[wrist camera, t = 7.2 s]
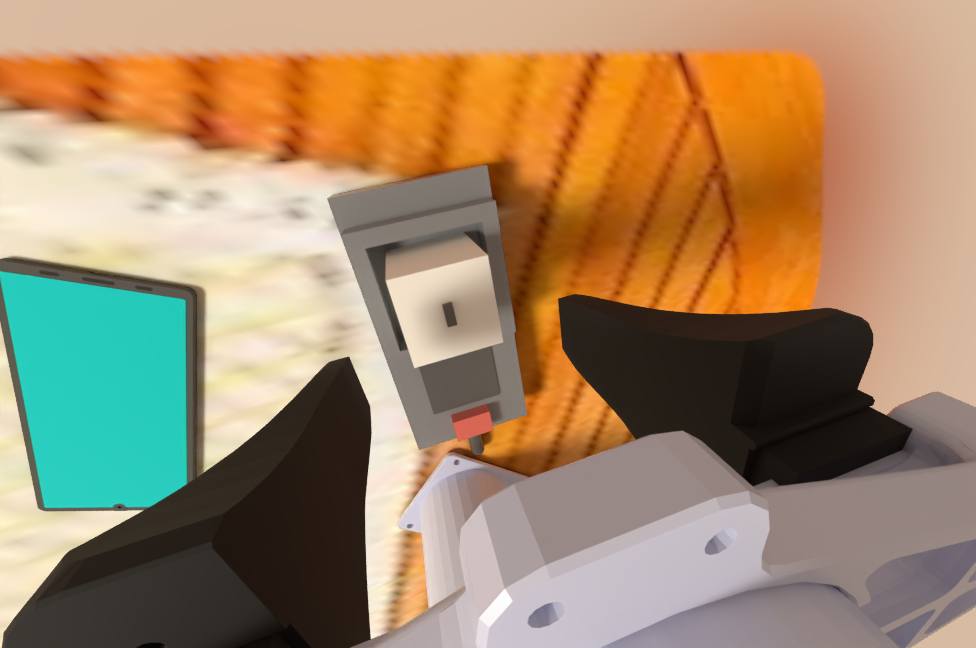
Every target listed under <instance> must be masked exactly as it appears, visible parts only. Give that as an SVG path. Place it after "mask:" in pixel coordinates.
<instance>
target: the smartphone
mask: <svg viewBox="0 0 976 648" xmlns="http://www.w3.org/2000/svg"><path fill="white" fill-rule="evenodd" d="M0 322H1V327H2V332H3V337H4V342H5V347H6V352H7V357H8V362H9V367H10V372H11V377H12V382H13V387H14V392H15V396H16V401H17V406H18V411H19V416H20V421H21V426H22V431H23V436H24V441H25V446H26V451H27V456H28V461H29V466H30V471H31V476H32V481H33V486H34V491H35V495H36V500H37V505H38V508H39V509H40V510H43V511H111V510H114V511H126V510H146V509H147V508H149V507H151V506H152V505H154V504H156V503H157V502H159V501H161V500H162V499H164V498H166V497H167V496H169V495H170V494H172V493H174V492H175V491H177V490H178V489H180V488H182V487H183V486H185V485H186V484H188V483H189V482H191V481H192V480H194V479H196V387H197V294H196V292H195V291H194V290H193V289H191V288H188V287H182V286H176V285H170V284H164V283H158V282H151V281H145V280H139V279H133V278H127V277H121V276H108V275H102V274H96V273H93V272H90V271H84V270H77V269H71V268H65V267H59V266H53V265H47V264H40V263H34V262H28V261H22V260H16V259H10V258H3V259H0Z"/></svg>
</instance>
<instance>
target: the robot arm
mask: <svg viewBox="0 0 976 648" xmlns="http://www.w3.org/2000/svg"><path fill="white" fill-rule="evenodd" d="M558 303H559V314H560V325H561V336H562V348H563V350H564V351H565V353H566V355H567V356H568V358H569V359H570V361H571V362H572V364H573V365H574V367H575V368H576V369H577V371H578V372H579V373H580V374H581V375H582V376H583V377H584V378H585V380H586V381H587V382H588V383H589V384H590V385H591V386H592V387H593V388H594V389H595V391H596V392H597V393H598V394H599V395H600V396H601V397H602V398H603V399H604V400H605V401H606V403H607V404H608V405H609V406H610V407H611V408H612V409H613V410H614V411H615V412H616V414H617V415H618V416H619V417H620V418H621V420H622V421H623V422H624V424H625V425H626V426H627V428H628V429H629V430H630V432H631V433H632V435H633V436H634V437H635V439H636V440H634V441H631V442H628V443H625V444H622V445H620V446H617V447H614V448H611V449H608V450H605V451H603V452H600V453H597V454H594V455H591V456H589V457H586V458H583V459H580V460H577V461H574V462H572V463H569V464H566V465H563V466H560V467H558V468H555V469H552V470H549V471H546V472H543V473H541V474H538V475H535V476H532V477H528V476H525V475H522V474H519V473H516V472H512V471H509V470H506V469H503V468H500V467H497V466H494V465H491V464H488V463H485V462H482V461H479V460H476V459H473V458H470V457H467V456H464V455H460V454H457V453H454V452H450V453H447V454H446V455H445V456H444V458H443V459H442V460H441V462H440V463H439V465H438V466H437V467H436V469H435V470H434V472H433V473H432V474H431V476H430V477H429V478H428V480H427V481H426V483H425V484H424V485H423V487H422V488H421V489H420V491H419V492H418V494H417V495H416V496H415V498H414V499H413V500H412V502H411V503H410V505H409V506H408V507H407V509H406V510H405V511H404V513H403V514H402V516H401V517H400V518H399V520H398V527H399V528H401V529H405V530H410V531H415V532H420V533H422V542H423V553H424V563H425V574H426V584H427V595H428V606H429V609H427V610H426V611H424V612H422V613H421V614H419V615H418V616H416V617H415V618H413V619H412V620H410V621H408V622H407V623H405V624H404V625H402V626H401V627H399V628H398V629H396V630H393V631H391V632H388V633H386V634H383V635H381V636H378V637H376V638H373V639H371V637H370V625H369V609H368V591H367V572H366V545H365V497H366V486H367V476H368V466H369V455H370V444H371V414H370V405H369V403H368V400H367V398H366V396H365V393H364V391H363V389H362V386H361V384H360V382H359V379H358V377H357V374H356V372H355V370H354V367H353V365H352V363H351V360H350V358H349V357H345V358H342V359H338V360H335V361H331V362H329V363H328V364H326V365H325V366H324V367H323V368H322V369H321V370H320V371H319V372H318V373H317V374H316V375H315V376H314V377H313V379H312V380H311V381H310V382H309V383H308V384H307V385H306V386H305V387H304V388H303V389H302V390H301V391H300V392H299V393H298V394H297V395H296V397H295V398H294V399H293V400H292V401H291V402H290V403H288V404H287V405H286V406H285V407H284V408H283V409H282V410H281V411H280V412H279V413H278V414H277V415H276V416H275V417H274V418H273V419H272V420H271V421H270V422H269V423H268V424H266V425H265V426H264V427H263V428H262V429H261V430H260V431H258V432H257V433H256V434H255V435H254V436H252V437H251V438H250V439H249V440H248V441H246V442H245V443H244V444H243V445H241V446H240V447H239V448H238V449H236V450H235V451H234V452H232V453H231V454H229V455H228V456H227V457H225V458H224V459H222V460H221V461H220V462H218V463H217V464H215V465H214V466H213V467H211V468H210V469H208V470H207V471H206V472H204V473H203V474H201V475H200V476H199V477H197V478H196V479H194V480H192V481H191V482H189V483H188V484H186V485H185V486H183V487H182V488H180V489H178V490H177V491H175V492H174V493H172V494H170V495H169V496H167V497H166V498H164V499H162V500H161V501H159V502H157V503H156V504H154V505H152V506H151V507H149V508H147V509H146V510H144V511H142V512H140V513H139V514H137V515H135V516H133V517H132V518H130V519H128V520H126V521H124V522H122V523H121V524H119V525H117V526H115V527H113V528H111V529H110V530H108V531H106V532H104V533H102V534H100V535H99V536H97V537H95V538H93V539H91V540H89V541H88V542H86V543H84V544H82V545H80V546H78V547H76V548H74V549H72V550H70V551H69V552H68V553H67V554H66V555H65V556H64V557H63V558H62V560H61V561H60V562H59V563H58V565H57V566H56V567H55V568H54V570H53V571H52V572H51V573H50V575H49V576H48V577H47V578H46V580H45V581H44V582H43V583H42V585H41V586H40V587H39V588H38V589H37V591H36V592H35V593H34V594H33V596H32V597H31V598H30V599H29V601H28V602H27V603H26V604H25V605H24V607H23V608H22V609H21V610H20V612H19V613H18V614H17V615H16V617H15V618H14V619H13V621H12V622H11V623H10V625H9V626H8V628H7V629H6V630H5V632H4V635H3V644H2V648H910V647H912V646H914V645H915V644H917V643H919V642H920V641H922V640H923V639H925V638H927V637H928V636H930V635H931V634H933V633H935V632H936V631H938V630H939V629H941V628H942V627H944V626H946V625H947V624H949V623H950V622H952V621H953V620H955V619H957V618H958V617H960V616H962V615H963V614H965V613H967V612H968V611H970V610H972V609H973V608H975V607H976V407H974V406H971V405H969V404H966V403H964V402H962V401H959V400H957V399H955V398H952V397H950V396H947V395H945V394H943V393H940V392H933V393H929V394H927V395H924V396H921V397H919V398H916V399H914V400H911V401H909V402H906V403H904V404H901V405H899V406H897V407H895V408H894V409H893V410H892V411H891V412H890V413H889V414H888V415H887V416H886V415H884V414H882V413H881V412H878V411H877V410H875V409H873V408H871V407H869V406H872V405H873V404H874V401H875V400H874V399H873V397H872V396H870V395H868V394H866V393H864V392H861V391H859V390H857V389H858V386H859V383H860V381H861V378H862V375H863V373H864V370H865V368H866V365H867V363H868V360H869V358H870V354H871V350H872V347H873V333H872V330H871V328H870V325H869V323H868V322H867V321H865V320H864V319H863V318H861V317H859V316H856V315H853V314H850V313H846V312H843V311H841V310H837V309H832V308H821V309H811V310H800V311H790V312H780V313H761V314H698V313H684V312H674V311H665V310H657V309H651V308H645V307H639V306H634V305H628V304H624V303H619V302H614V301H610V300H605V299H600V298H596V297H591V296H586V295H578V294H573V295H570V296H566V297H563V298H559V299H558ZM455 460H458V461H455Z"/></svg>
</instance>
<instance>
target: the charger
mask: <svg viewBox="0 0 976 648" xmlns="http://www.w3.org/2000/svg"><path fill="white" fill-rule="evenodd" d="M385 281H386V284H387V287H388V290H389V293H390V296H391V299H392V302H393V305H394V308H395V311H396V314H397V317H398V320H399V323H400V326H401V329H402V332H403V335H404V338H405V341H406V344H407V347H408V351H409V354H410V357H411V360H412V363H413V366H414V368H417V367H420V366H424V365H427V364H431V363H434V362H437V361H441V360H444V359H448V358H451V357H455V356H458V355H462V354H465V353H468V352H472V351H475V350H479V349H482V348H486V347H489V346H492V345H496V344H499V343H503V337H502V331H501V326H500V320H499V315H498V309H497V303H496V298H495V292H494V287H493V281H492V276H491V270H490V265H489V259H488V255H487V254H486V253H485V252H484V251H483V250H482V249H481V248H480V247H479V246H478V245H477V244H475V243H474V242H473V241H472V240H471V239H470V238H469V237H468V236H467V235H466V234H465V233H464V232H461V233H457V234H453V235H448V236H444V237H440V238H436V239H432V240H427V241H423V242H419V243H415V244H410V245H406V246H402V247H398V248H394V249H389V250H386V277H385Z"/></svg>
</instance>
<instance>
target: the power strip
mask: <svg viewBox="0 0 976 648" xmlns="http://www.w3.org/2000/svg"><path fill="white" fill-rule="evenodd" d="M327 199H328V202H329V205H330V208H331V210H332V213H333V216H334V219H335V221H336V224H337V227H338V229H339V232H340V235H341V238H342V240H343V243H344V246H345V249H346V251H347V254H348V257H349V259H350V262H351V265H352V268H353V270H354V273H355V276H356V279H357V281H358V284H359V287H360V289H361V292H362V295H363V298H364V300H365V303H366V306H367V309H368V311H369V314H370V317H371V319H372V322H373V325H374V328H375V330H376V333H377V336H378V339H379V341H380V344H381V347H382V350H383V352H384V355H385V358H386V360H387V363H388V366H389V369H390V371H391V374H392V377H393V380H394V382H395V385H396V388H397V390H398V393H399V396H400V399H401V401H402V404H403V407H404V410H405V412H406V415H407V418H408V420H409V423H410V426H411V429H412V431H413V434H414V437H415V440H416V442H417V445H418V448H419V450H421V449H424V448H427V447H430V446H433V445H436V444H439V443H442V442H445V441H448V440H451V439H454V438H457V439H458V442H459V441H462V440H465V439H468V440H469V443H470V447H471V450H472V452H473V453H474V454H476V455H480V454H481V453H483V451H484V444H483V439H482V435H481V434H483V433H486V432H489V431H492V430H493V426H494V425H497V424H500V423H504V422H507V421H510V420H513V419H516V418H519V417H522V416H525V415H527V411H526V405H525V398H524V392H523V386H522V380H521V373H520V367H519V361H518V355H517V348H516V342H515V336H514V333H515V332H516V328H515V321H514V315H513V308H512V302H511V296H510V289H509V283H508V276H507V270H506V264H505V257H504V251H503V244H502V238H501V232H500V225H499V219H498V212H497V206H496V200H493V198H492V192H491V185H490V179H489V173H488V167H487V165H475V166H470V167H465V168H460V169H455V170H451V171H446V172H441V173H436V174H431V175H426V176H422V177H417V178H412V179H407V180H402V181H397V182H393V183H388V184H383V185H378V186H373V187H368V188H363V189H359V190H354V191H349V192H344V193H339V194H334V195H332V196H330V197H329V198H327ZM461 232H464V233H465V234H466V235H467V236H468V237H469V238H470V239H471V240H472V241H473V242H474V243H475V244H477V245H478V246H479V247H480V248H481V249H482V250H483V251H484V252H485V253H486V254H487V255H488V259H489V265H490V270H491V276H492V281H493V287H494V292H495V298H496V303H497V309H498V315H499V320H500V326H501V331H502V337H503V343H499V344H496V345H492V346H489V347H486V348H482V349H479V350H475V351H472V352H468V353H465V354H462V355H458V356H455V357H451V358H448V359H444V360H441V361H437V362H434V363H431V364H427V365H424V366H420V367H417V368H414V366H413V363H412V360H411V357H410V354H409V351H408V347H407V344H406V341H405V338H404V335H403V332H402V329H401V326H400V323H399V320H398V317H397V314H396V311H395V308H394V305H393V302H392V299H391V296H390V293H389V290H388V287H387V284H386V281H385V277H386V250H389V249H394V248H398V247H402V246H406V245H410V244H415V243H419V242H423V241H427V240H432V239H436V238H440V237H444V236H448V235H453V234H457V233H461Z"/></svg>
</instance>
